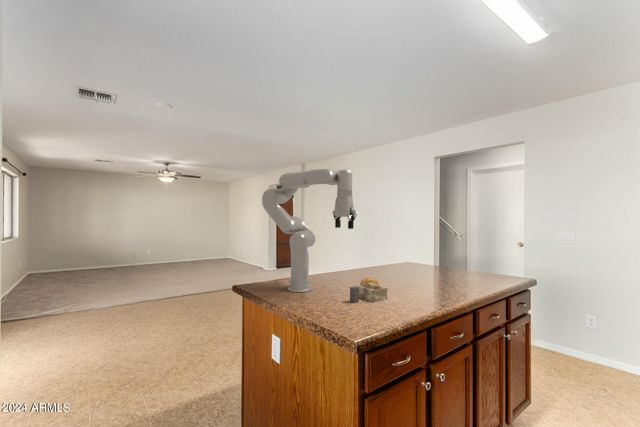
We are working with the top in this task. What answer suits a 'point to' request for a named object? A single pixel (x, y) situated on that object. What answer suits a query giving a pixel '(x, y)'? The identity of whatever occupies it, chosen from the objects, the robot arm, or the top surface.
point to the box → (372, 292)
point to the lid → (354, 294)
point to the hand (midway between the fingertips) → (344, 228)
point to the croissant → (369, 281)
